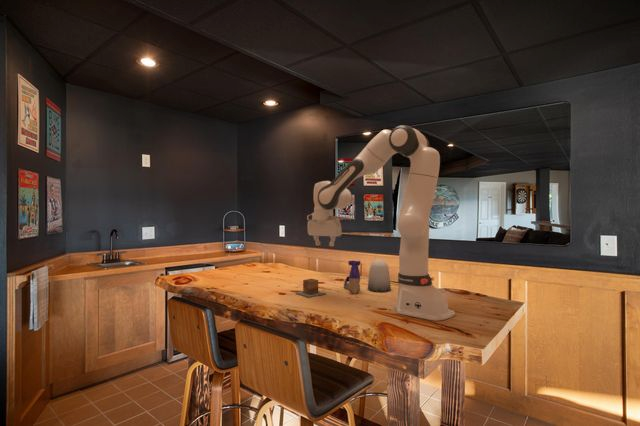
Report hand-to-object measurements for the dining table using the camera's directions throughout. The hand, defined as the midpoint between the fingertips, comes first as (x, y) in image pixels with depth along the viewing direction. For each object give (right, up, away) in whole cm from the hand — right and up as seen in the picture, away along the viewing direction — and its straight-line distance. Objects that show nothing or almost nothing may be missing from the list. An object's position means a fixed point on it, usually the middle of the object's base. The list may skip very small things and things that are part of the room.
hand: (324, 245), depth 169 cm
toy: (+27, -23, +8) cm, 36 cm away
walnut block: (-7, -22, -1) cm, 23 cm away
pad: (-7, -23, -1) cm, 23 cm away
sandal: (+13, -23, +8) cm, 28 cm away
